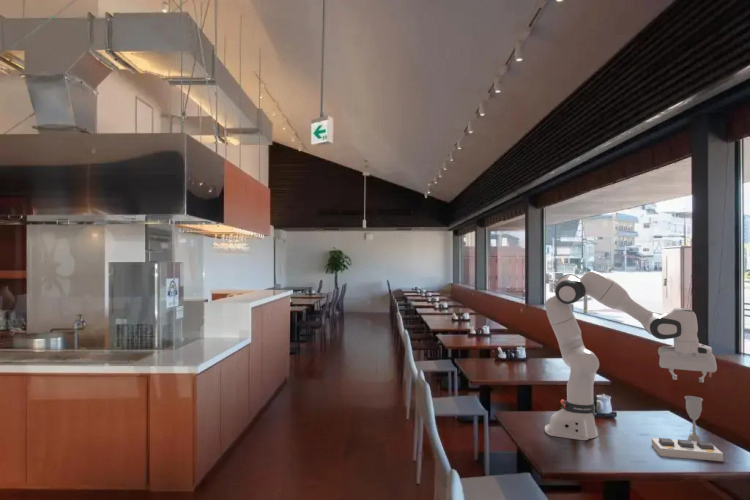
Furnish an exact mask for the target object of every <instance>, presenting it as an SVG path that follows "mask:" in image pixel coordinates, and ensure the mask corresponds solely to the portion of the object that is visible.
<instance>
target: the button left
mask: <svg viewBox="0 0 750 500" xmlns="http://www.w3.org/2000/svg"><path fill="white" fill-rule="evenodd" d="M658 439H659V443H660V444H661V445H662V446H674V442H673V441H672V440H673V439H672V438H666V437H665V438H663V437H659V438H658Z"/></svg>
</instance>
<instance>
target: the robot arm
mask: <svg viewBox="0 0 750 500" xmlns="http://www.w3.org/2000/svg"><path fill="white" fill-rule="evenodd" d="M554 294H555V295H554V296H551V297H549V298H548V299H547V300H546V301H545V304H544V307H545V308H544V309H545V311H546V316H547V318H548V322H549V324H550V326H551V328H552V330H553V333H554V336H555V338H556V340H557V343H558V347H559V350H560V353H561V358H562V360H563V362H564V364H565V365H566V366H568V367H569V368H570V373H569V379H568V381H567V382H566V383H567V384H566V400H565V399H561V400H560V404H561V406H562V408H561V409H560V410H558V411H556V412H555V413H553V414H552V415H551V416H550V418H549V423H548V424H546V425H545V426H544V432H545V433H546V434H547V435H548V436H550V437H559V438H563V439H564V438H565V439H571V440H572V439H573V440H579V441H587V440H590V439H594V438H595V439H596V438H597V437H598V436H599V434H598V431H597V427H596V420H595V415H596V413H595V412H596V406H595V403H594V383H595V379H596V374H597V371H598V370H599V369H600V361H599V358H598V357H597V356H596V354H595V353H594V352H593V351H592V350H589V349H587V348H586V347H585V344H584V341H583V338H582V330H581V328H580V326H579V324H578V321H577V318H576V316H575V315H574V312H573V310H572V307H571V304H575V303H577V302H578V301H579V300H581V299H582V298H583V297H585V296H586V295H587V296H589V297H591V298H593V299H594V300H596V302H598V303H600V304H601V305H603V306H605V307H608V308H609V309H613V310H617V311H621V312H624V313H626V314H627V315H629V316H630V317H632V318H633V319H635V320H636V321H637V322H639V323H640V324H641V325H642V327H643V328H644V329H645V331H646V332H647V333H648V334H649V335H651V336H652V337H654V338H656V339H658V340H669V339H673V346H672V345H669V346H667V345H661V346H659V347H658V349H657V353H658V355H659V361H658V365H659V367H660V368H662V369H668V372H669V373H670V374H671V377H672V380H678V374H675V372H674V370H684V371H692V372H693V371H694V372H701V374H702V376H701V377H698V379H699V381H698V382H699V383H704V382H705V377H706V375H707V374H708V373H716V372H717V370H718V364H717V361H716V356H715V355H714V354H713V348H712V347H711V346H708V345H705V344H702V343H700V342H699V337H698V331H699V327H698V325H699V324H698V319H697V315H696V313H695V312H694V311H693V310H691V309H690V308H689V309H688V308H684V307H683V308H682V307H675V308H673V309H672V310H670V311H669V312H666V313H663V314H661V313H658V312H653V311H651V310H649V309H646V308H645V307H644V306H642V305H641V304H639V303H638V302H636V301H635V300H634V299H632V298H631V296H630V295H629V293H628V291H627V290H626V289H625V288H624V287H622V286H621V285H620V284H619V283H618V282H616V281H614V280H613V279H611V278H609V277H608V276H606V275H604V274H602V273H601V272H597V271H595V270H590V271H587V272H586V273H584V274H583V275H582V276H581V277H579V276H578V275H575V274H571V273H569V274H564V275H563V276H561V277H560V278H559V279H558V281H557V283H556V285H555V290H554Z"/></svg>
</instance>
